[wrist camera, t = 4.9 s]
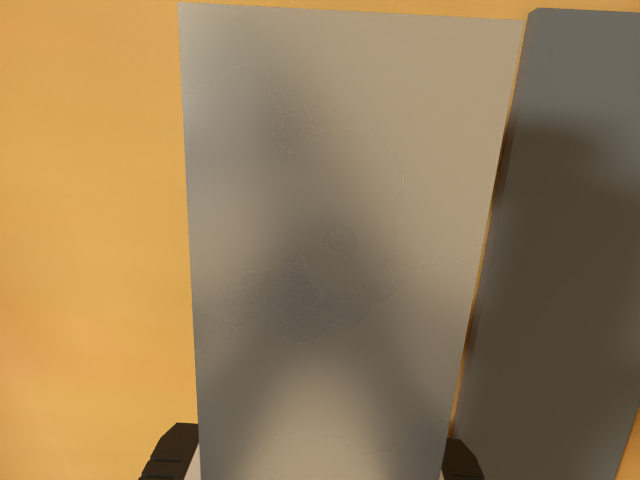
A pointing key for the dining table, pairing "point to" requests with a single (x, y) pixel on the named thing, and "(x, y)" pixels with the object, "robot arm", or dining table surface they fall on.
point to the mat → (561, 261)
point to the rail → (335, 230)
